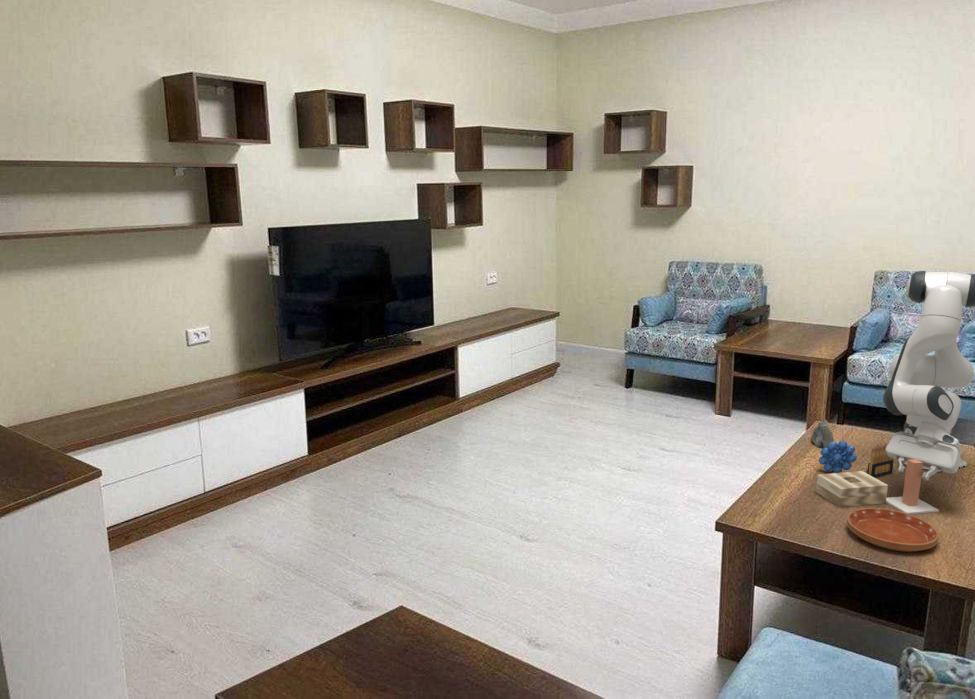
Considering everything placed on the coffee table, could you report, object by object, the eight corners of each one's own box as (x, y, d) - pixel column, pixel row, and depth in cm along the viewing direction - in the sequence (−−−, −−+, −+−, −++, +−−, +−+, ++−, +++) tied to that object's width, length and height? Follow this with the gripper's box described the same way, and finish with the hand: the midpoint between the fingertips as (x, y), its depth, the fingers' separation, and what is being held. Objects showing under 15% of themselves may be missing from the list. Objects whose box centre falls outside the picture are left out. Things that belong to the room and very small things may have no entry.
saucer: (945, 535, 215) (947, 523, 215) (925, 564, 199) (927, 551, 198) (860, 512, 230) (861, 501, 229) (834, 538, 214) (836, 526, 213)
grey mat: (912, 497, 241) (912, 495, 241) (938, 511, 230) (938, 509, 230) (881, 499, 239) (881, 498, 239) (906, 514, 228) (906, 512, 228)
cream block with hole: (861, 488, 248) (863, 470, 247) (887, 503, 236) (889, 485, 235) (816, 492, 245) (817, 474, 243) (839, 507, 233) (841, 489, 232)
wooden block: (910, 501, 236) (915, 459, 233) (917, 505, 233) (923, 462, 230) (902, 502, 235) (907, 459, 232) (909, 506, 232) (914, 463, 229)
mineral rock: (815, 436, 299) (817, 411, 296) (843, 442, 291) (846, 417, 289) (802, 444, 290) (804, 419, 287) (831, 451, 282) (834, 425, 280)
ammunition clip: (871, 478, 256) (874, 445, 253) (866, 476, 257) (870, 443, 255) (892, 473, 260) (896, 440, 258) (887, 471, 262) (891, 438, 259)
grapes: (855, 472, 262) (858, 438, 259) (854, 478, 256) (858, 444, 253) (818, 466, 267) (821, 433, 264) (817, 472, 261) (820, 439, 258)
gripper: (893, 424, 242) (875, 460, 238) (964, 441, 226) (946, 480, 222) (897, 435, 245) (880, 470, 242) (967, 452, 230) (950, 490, 226)
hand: (912, 475), depth 232 cm, fingers open, 5 cm apart
